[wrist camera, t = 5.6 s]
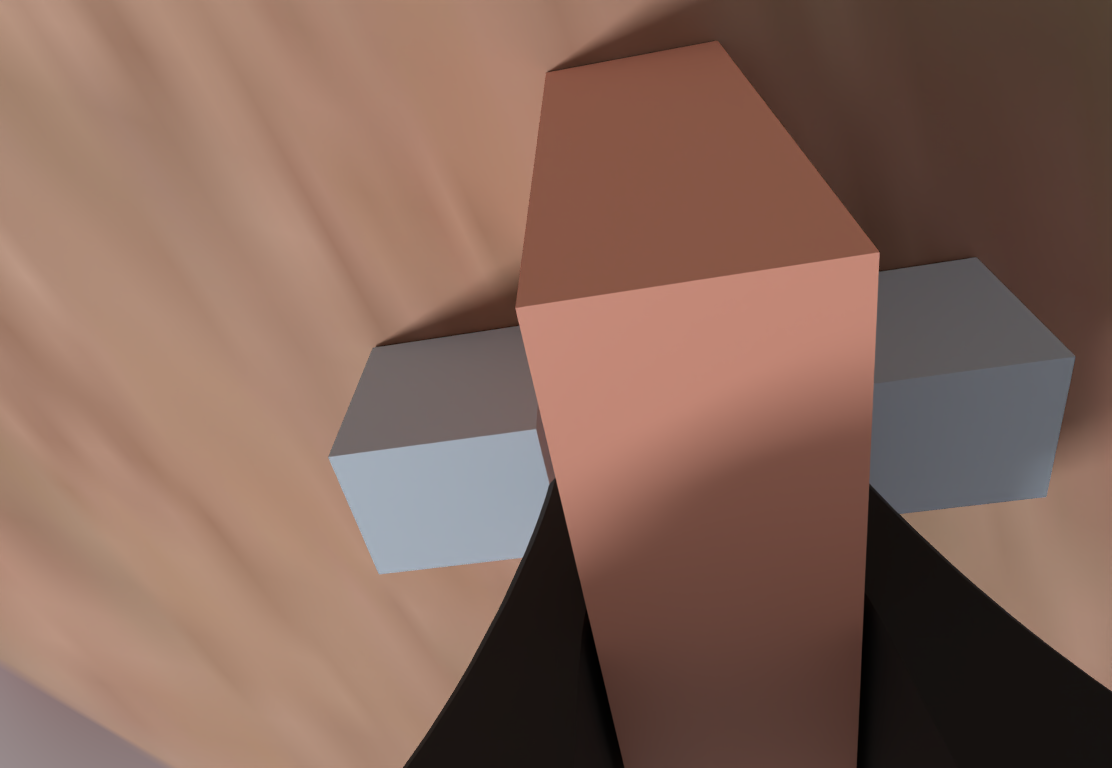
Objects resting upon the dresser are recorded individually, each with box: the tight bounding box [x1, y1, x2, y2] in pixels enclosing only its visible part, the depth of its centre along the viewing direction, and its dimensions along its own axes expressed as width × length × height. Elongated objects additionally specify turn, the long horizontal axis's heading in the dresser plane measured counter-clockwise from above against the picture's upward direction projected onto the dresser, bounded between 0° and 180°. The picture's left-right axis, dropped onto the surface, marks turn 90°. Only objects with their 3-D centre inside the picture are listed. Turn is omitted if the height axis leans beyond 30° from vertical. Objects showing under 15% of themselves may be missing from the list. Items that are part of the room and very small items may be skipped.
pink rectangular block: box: [515, 41, 880, 768], centre depth 11 cm, size 2×10×7 cm, turn 11°
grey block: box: [328, 257, 1076, 574], centre depth 13 cm, size 10×2×3 cm, turn 100°
